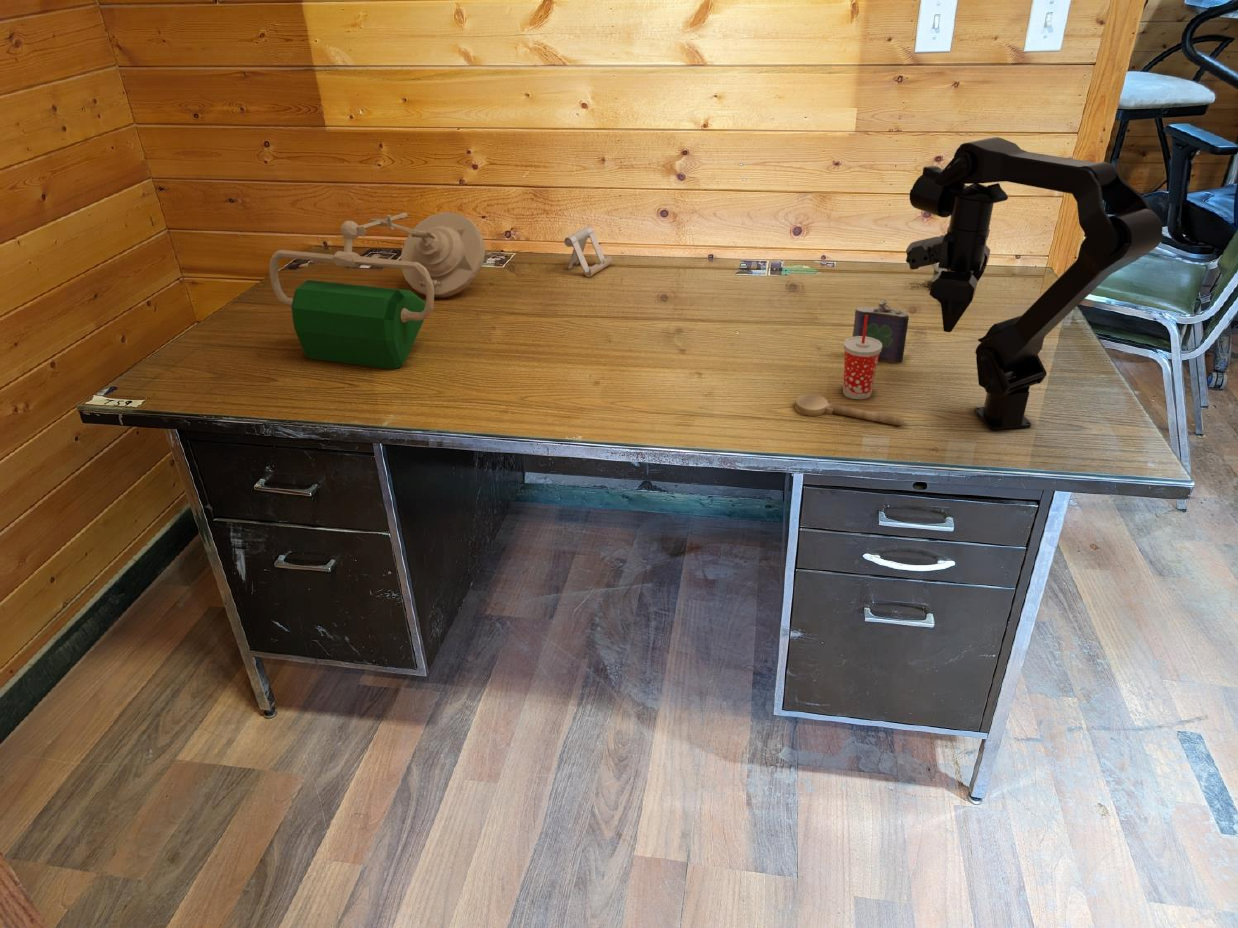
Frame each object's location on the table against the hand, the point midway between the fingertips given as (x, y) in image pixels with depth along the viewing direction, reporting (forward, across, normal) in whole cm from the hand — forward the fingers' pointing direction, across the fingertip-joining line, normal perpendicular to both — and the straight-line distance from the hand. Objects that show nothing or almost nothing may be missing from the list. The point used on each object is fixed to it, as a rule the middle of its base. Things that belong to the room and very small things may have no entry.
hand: (952, 320), depth 145 cm
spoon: (+12, +15, -12) cm, 23 cm away
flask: (+12, -7, -12) cm, 19 cm away
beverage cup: (+12, +8, -12) cm, 19 cm away
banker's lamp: (+12, +10, -104) cm, 105 cm away
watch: (+12, -45, -7) cm, 47 cm away
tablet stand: (+12, -28, -82) cm, 87 cm away
